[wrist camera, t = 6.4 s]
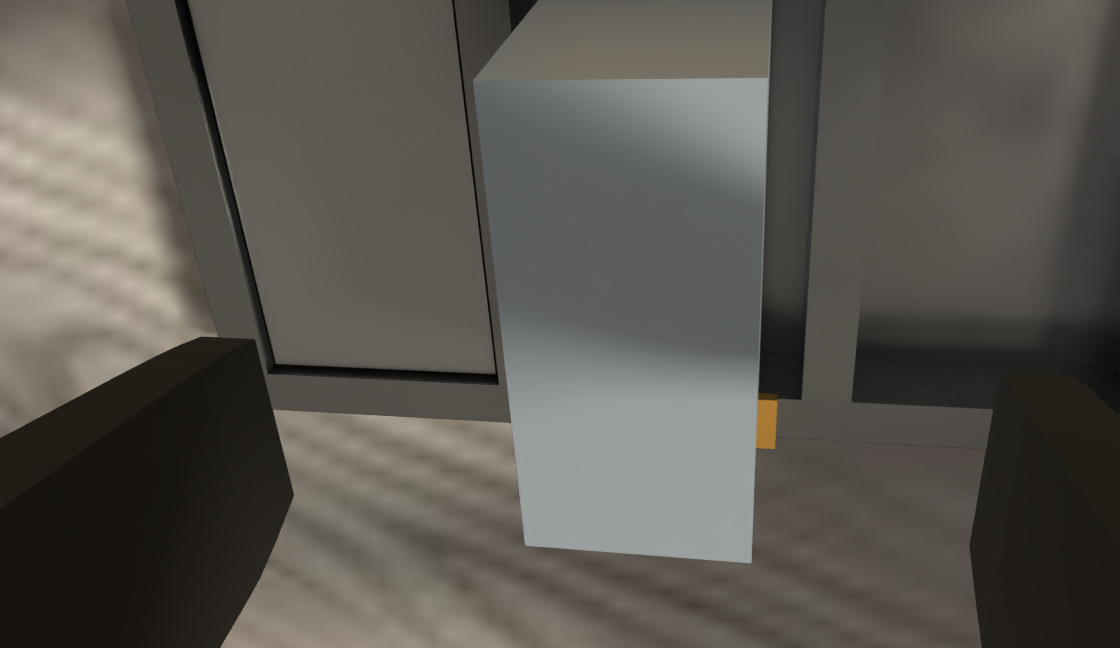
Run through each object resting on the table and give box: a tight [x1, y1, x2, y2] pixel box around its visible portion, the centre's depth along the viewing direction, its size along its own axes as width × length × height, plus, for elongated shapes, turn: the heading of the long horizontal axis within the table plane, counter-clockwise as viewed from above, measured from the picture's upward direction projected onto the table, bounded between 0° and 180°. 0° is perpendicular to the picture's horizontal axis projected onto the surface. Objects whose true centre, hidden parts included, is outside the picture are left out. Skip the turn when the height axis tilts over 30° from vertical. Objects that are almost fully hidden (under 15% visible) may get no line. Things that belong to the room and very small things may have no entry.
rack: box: [126, 0, 1120, 449], centre depth 17 cm, size 10×16×2 cm, turn 94°
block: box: [473, 0, 772, 563], centre depth 15 cm, size 6×3×6 cm, turn 4°
